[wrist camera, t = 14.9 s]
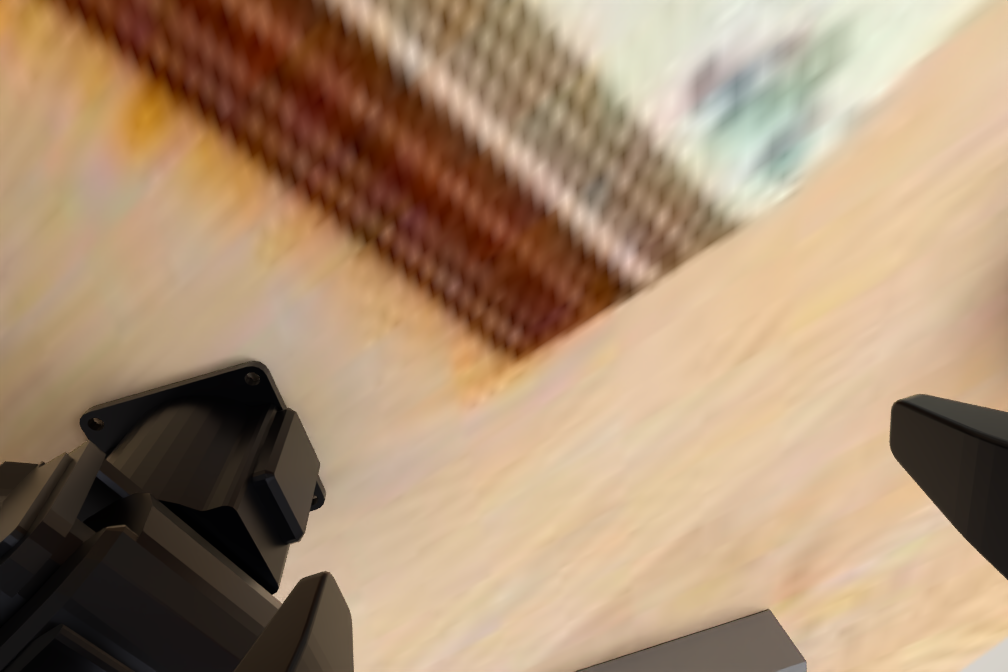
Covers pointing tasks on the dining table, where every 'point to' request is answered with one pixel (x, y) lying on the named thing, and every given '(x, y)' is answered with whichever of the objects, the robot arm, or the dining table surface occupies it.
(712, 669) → the block
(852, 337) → the dining table surface
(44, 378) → the dining table surface
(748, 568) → the dining table surface
